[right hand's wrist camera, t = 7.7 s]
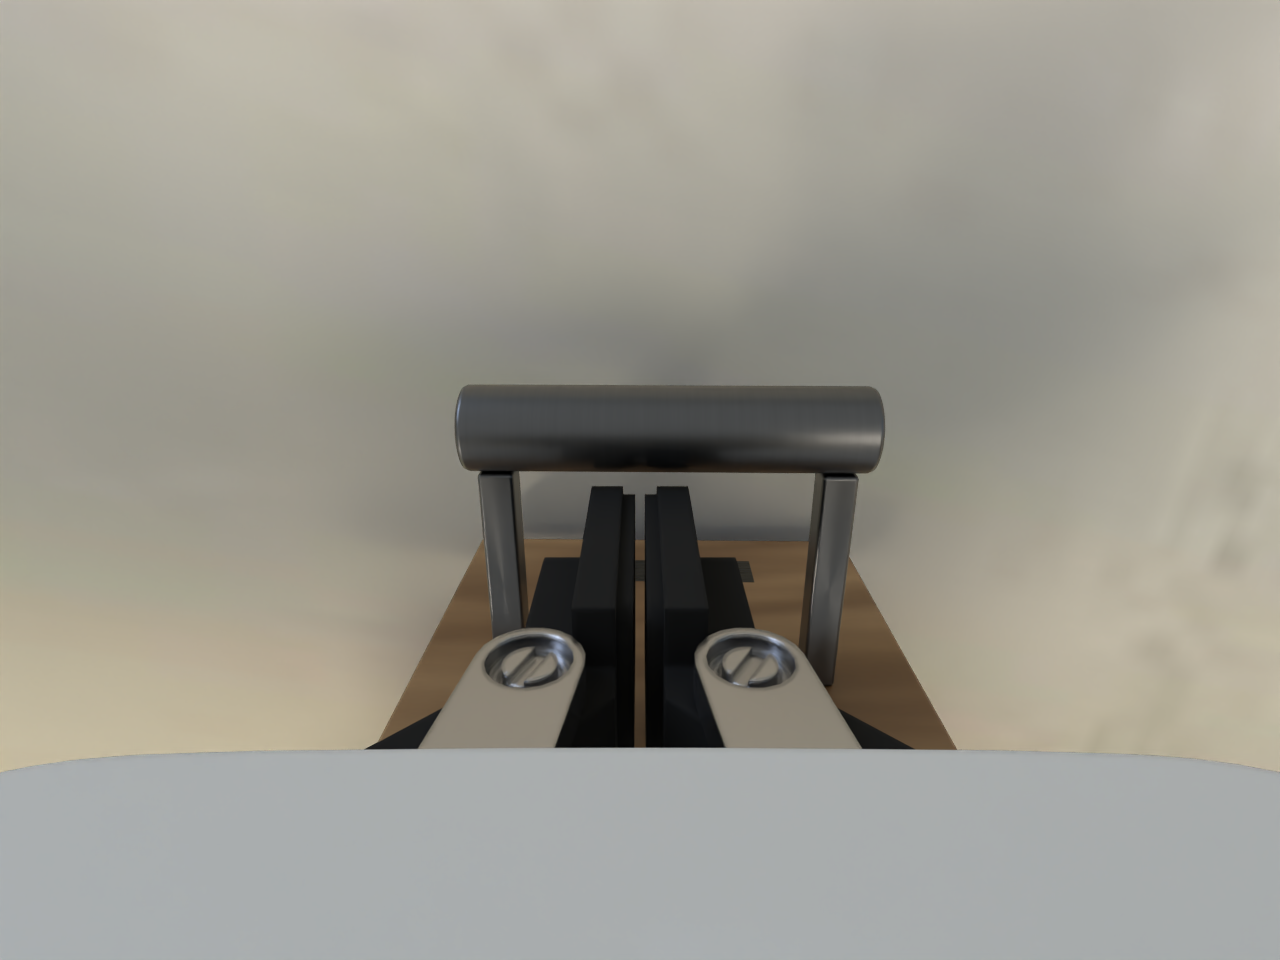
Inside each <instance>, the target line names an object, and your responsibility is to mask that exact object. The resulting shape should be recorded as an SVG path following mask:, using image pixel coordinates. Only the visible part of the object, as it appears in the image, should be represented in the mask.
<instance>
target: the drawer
mask: <svg viewBox="0 0 1280 960" xmlns="http://www.w3.org/2000/svg"><path fill="white" fill-rule="evenodd" d="M884 438H885V415H884V409H883V404H882V400H881V397H880V395H879V393H878V391H877V390H876V389H874V388H872V387H869V386H674V385H467V386H465V387H463V388H462V389H461V391H460V394H459V397H458V400H457V404H456V411H455V441H456V448H457V453H458V456H459V459H460V462H461V464H462V466H463V467H464V468H465V469H467V470H470V471H481V472H480V473H479V475H478V484H479V494H480V505H481V516H482V527H483V538H484V539H483V540H482V542H481V544H480V546H479V548H478V550H477V552H476V553H475V555H474V557H473V559H472V561H471V563H470V565H469V567H468V569H467V571H466V573H465V575H464V577H463V579H462V581H461V582H460V584H459V586H458V588H457V590H456V592H455V594H454V596H453V598H452V600H451V602H450V604H449V606H448V608H447V610H446V611H445V613H444V615H443V617H442V619H441V621H440V623H439V625H438V627H437V629H436V631H435V633H434V635H433V637H432V639H431V640H430V642H429V644H428V646H427V648H426V650H425V652H424V654H423V656H422V658H421V660H420V662H419V664H418V666H417V668H416V669H415V671H414V673H413V675H412V677H411V679H410V681H409V683H408V685H407V687H406V689H405V691H404V693H403V695H402V697H401V698H400V700H399V702H398V704H397V706H396V708H395V710H394V712H393V714H392V716H391V718H390V720H389V722H388V724H387V726H386V727H385V729H384V731H383V733H382V735H381V737H380V739H379V741H381V740H383V739H385V738H387V737H389V736H391V735H392V734H394V733H396V732H398V731H400V730H402V729H404V728H406V727H407V726H409V725H411V724H413V723H415V722H417V721H419V720H421V719H422V718H424V717H426V716H428V715H430V714H432V713H434V712H436V711H437V710H439V709H441V708H443V707H444V705H445V703H446V702H447V700H448V699H449V697H450V695H451V694H452V692H453V690H454V689H455V687H456V686H457V684H458V682H459V681H460V679H461V677H462V676H463V674H464V673H465V671H466V669H467V668H468V666H469V664H470V663H471V661H472V660H473V658H474V656H475V655H476V653H477V652H478V651H479V650H480V649H481V648H482V647H483V646H484V644H486V643H488V642H489V641H491V640H492V639H494V638H495V637H497V636H500V635H502V634H505V633H508V632H510V631H514V630H520V629H525V626H526V622H527V618H528V615H529V611H530V607H531V604H532V600H533V596H534V593H535V589H536V585H537V582H538V578H539V574H540V571H541V567H542V563H543V560H544V558H545V557H580V554H581V548H582V542H583V540H581V539H524V535H523V520H522V505H521V490H520V476H519V471H576V472H726V473H816V474H815V484H814V494H813V504H812V514H811V524H810V535H809V541H700V540H697V542H698V548H699V554H700V557H735V558H736V560H737V563H738V567H739V571H740V574H741V578H742V582H743V585H744V589H745V593H746V596H747V600H748V604H749V607H750V611H751V615H752V618H753V622H754V626H755V629H760V630H766V631H770V632H772V633H775V634H778V635H780V636H783V637H785V638H786V639H788V640H789V641H791V642H792V643H794V644H796V646H797V647H798V648H799V649H800V650H801V651H802V652H803V653H804V655H805V656H806V658H807V660H808V661H809V663H810V664H811V666H812V668H813V669H814V671H815V673H816V674H817V676H818V677H819V679H820V681H821V682H822V684H823V686H824V687H825V689H826V690H827V692H828V694H829V695H830V697H831V699H832V700H833V702H834V703H835V705H836V707H837V708H839V709H841V710H843V711H844V712H846V713H848V714H850V715H852V716H854V717H856V718H858V719H859V720H861V721H863V722H865V723H867V724H869V725H871V726H873V727H874V728H876V729H878V730H880V731H882V732H884V733H886V734H888V735H889V736H891V737H893V738H895V739H897V740H899V741H901V742H903V743H904V744H906V745H908V746H910V747H912V748H914V749H916V750H957V749H956V747H955V745H954V743H953V742H952V740H951V738H950V736H949V734H948V733H947V731H946V729H945V727H944V725H943V724H942V722H941V720H940V718H939V716H938V715H937V713H936V711H935V709H934V708H933V706H932V704H931V702H930V700H929V699H928V697H927V695H926V693H925V691H924V690H923V688H922V686H921V684H920V683H919V681H918V679H917V677H916V675H915V674H914V672H913V670H912V668H911V666H910V665H909V663H908V661H907V659H906V658H905V656H904V654H903V652H902V650H901V649H900V647H899V645H898V643H897V641H896V640H895V638H894V636H893V634H892V633H891V631H890V629H889V627H888V625H887V624H886V622H885V620H884V618H883V616H882V615H881V613H880V611H879V609H878V608H877V606H876V604H875V602H874V600H873V599H872V597H871V595H870V593H869V591H868V590H867V588H866V586H865V584H864V583H863V581H862V579H861V577H860V575H859V574H858V572H857V570H856V568H855V566H854V565H853V563H852V561H851V559H850V557H849V553H850V545H851V537H852V529H853V520H854V512H855V504H856V496H857V488H858V480H859V479H858V477H857V475H856V474H855V473H869V472H872V471H873V470H875V468H876V467H877V465H878V463H879V461H880V458H881V454H882V450H883V445H884ZM379 741H378V742H379ZM634 748H646V734H645V540H635V734H634Z"/></svg>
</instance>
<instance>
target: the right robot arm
mask: <svg viewBox="0 0 1280 960" xmlns="http://www.w3.org/2000/svg"><path fill="white" fill-rule="evenodd" d="M634 734H635V494H623V486H592V489H591V495H590V501H589V507H588V513H587V519H586V524H585V530H584V536H583V542H582V548H581V554H580V557H545V558H544V560H543V563H542V567H541V571H540V574H539V578H538V582H537V585H536V589H535V593H534V596H533V600H532V604H531V607H530V611H529V615H528V618H527V622H526V626H525V629H520V630H514V631H510V632H508V633H505V634H502V635H500V636H497V637H495V638H494V639H492V640H491V641H489V642H488V643H486V644H484V646H483V647H482V648H481V649H480V650H479V651H478V652H477V653H476V655H475V656H474V658H473V660H472V661H471V663H470V664H469V666H468V668H467V669H466V671H465V673H464V674H463V676H462V677H461V679H460V681H459V682H458V684H457V686H456V687H455V689H454V690H453V692H452V694H451V695H450V697H449V699H448V700H447V702H446V703H445V705H444V707H443V708H441V709H439V710H437V711H436V712H434V713H432V714H430V715H428V716H426V717H424V718H422V719H421V720H419V721H417V722H415V723H413V724H411V725H409V726H407V727H406V728H404V729H402V730H400V731H398V732H396V733H394V734H392V735H391V736H389V737H387V738H385V739H383V740H381V741H379V742H377V743H376V744H374V745H372V746H370V747H368V748H366V749H364V750H288V751H239V752H208V753H177V754H146V755H125V756H113V757H102V758H90V759H79V760H70V761H63V762H56V763H50V764H43V765H36V766H30V767H25V768H20V769H15V770H10V771H5V772H0V960H1280V772H1275V771H1270V770H1265V769H1260V768H1254V767H1249V766H1244V765H1238V764H1231V763H1224V762H1217V761H1209V760H1200V759H1191V758H1179V757H1168V756H1155V755H1134V754H1108V753H1073V752H1037V751H1001V750H916V749H914V748H912V747H910V746H908V745H906V744H904V743H903V742H901V741H899V740H897V739H895V738H893V737H891V736H889V735H888V734H886V733H884V732H882V731H880V730H878V729H876V728H874V727H873V726H871V725H869V724H867V723H865V722H863V721H861V720H859V719H858V718H856V717H854V716H852V715H850V714H848V713H846V712H844V711H843V710H841V709H839V708H837V707H836V705H835V703H834V702H833V700H832V699H831V697H830V695H829V694H828V692H827V690H826V689H825V687H824V686H823V684H822V682H821V681H820V679H819V677H818V676H817V674H816V673H815V671H814V669H813V668H812V666H811V664H810V663H809V661H808V660H807V658H806V656H805V655H804V653H803V652H802V651H801V650H800V649H799V648H798V647H797V646H796V644H794V643H792V642H791V641H789V640H788V639H786V638H785V637H783V636H780V635H778V634H775V633H772V632H770V631H766V630H760V629H755V626H754V622H753V618H752V615H751V611H750V607H749V604H748V600H747V596H746V593H745V589H744V585H743V582H742V578H741V574H740V571H739V567H738V563H737V560H736V558H735V557H700V554H699V548H698V542H697V536H696V530H695V524H694V519H693V513H692V507H691V501H690V495H689V489H688V486H657V494H645V734H646V748H634Z"/></svg>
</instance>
